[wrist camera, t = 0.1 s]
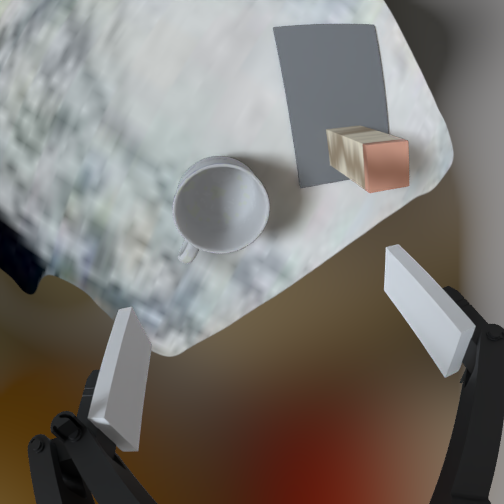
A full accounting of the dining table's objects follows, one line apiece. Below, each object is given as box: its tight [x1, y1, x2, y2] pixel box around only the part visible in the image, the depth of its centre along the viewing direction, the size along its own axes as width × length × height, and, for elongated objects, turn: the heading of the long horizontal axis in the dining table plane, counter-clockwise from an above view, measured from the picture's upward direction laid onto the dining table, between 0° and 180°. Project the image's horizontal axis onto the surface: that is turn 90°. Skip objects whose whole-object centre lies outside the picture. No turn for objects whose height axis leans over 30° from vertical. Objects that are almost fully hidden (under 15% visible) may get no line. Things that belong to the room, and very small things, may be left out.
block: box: [326, 125, 409, 193], centre depth 34 cm, size 5×5×12 cm
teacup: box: [172, 156, 270, 264], centre depth 38 cm, size 14×11×8 cm
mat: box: [273, 24, 389, 188], centre depth 37 cm, size 22×14×1 cm, turn 10°
